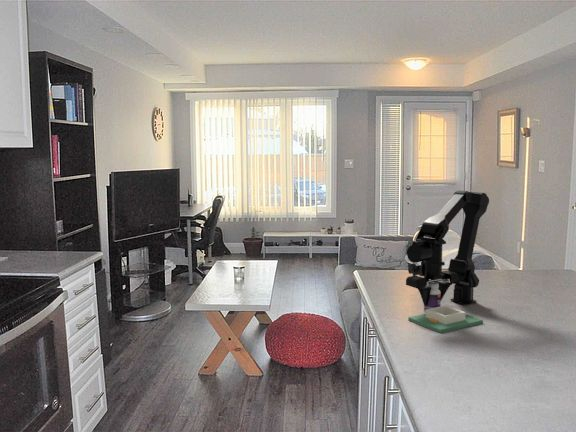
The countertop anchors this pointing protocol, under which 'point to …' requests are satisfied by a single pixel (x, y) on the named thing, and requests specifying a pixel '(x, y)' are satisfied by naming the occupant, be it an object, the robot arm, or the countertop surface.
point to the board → (445, 319)
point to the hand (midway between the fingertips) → (432, 304)
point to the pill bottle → (433, 296)
